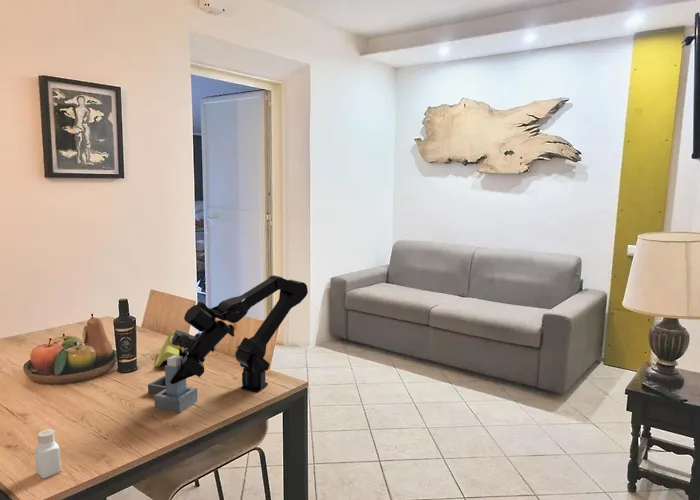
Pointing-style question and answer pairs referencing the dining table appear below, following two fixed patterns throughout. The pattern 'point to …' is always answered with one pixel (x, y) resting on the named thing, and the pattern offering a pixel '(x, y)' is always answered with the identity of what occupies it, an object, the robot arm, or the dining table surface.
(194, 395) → the socket block
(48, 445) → the white pill bottle
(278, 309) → the robot arm
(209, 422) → the dining table surface
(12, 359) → the dining table surface
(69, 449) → the dining table surface
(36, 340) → the dining table surface
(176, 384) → the plug
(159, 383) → the frame
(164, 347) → the plastic component
